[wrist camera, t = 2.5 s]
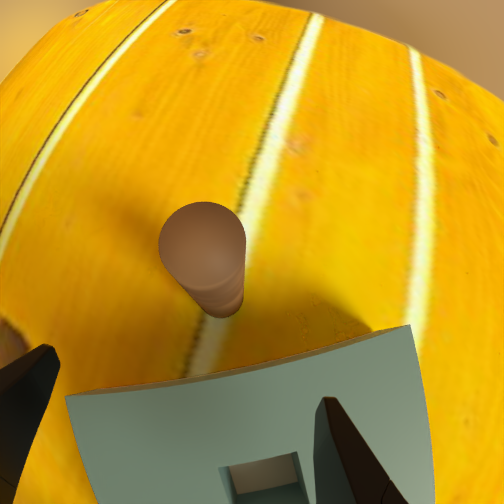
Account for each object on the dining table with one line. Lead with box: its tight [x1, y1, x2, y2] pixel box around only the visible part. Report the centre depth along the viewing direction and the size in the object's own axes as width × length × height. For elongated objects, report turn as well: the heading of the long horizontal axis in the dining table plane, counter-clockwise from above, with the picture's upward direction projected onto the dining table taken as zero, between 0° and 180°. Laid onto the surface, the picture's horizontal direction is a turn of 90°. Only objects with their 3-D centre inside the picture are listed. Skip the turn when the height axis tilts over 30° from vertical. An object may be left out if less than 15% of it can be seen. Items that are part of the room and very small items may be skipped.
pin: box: [159, 202, 246, 318], centre depth 16 cm, size 3×3×11 cm
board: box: [65, 325, 435, 504], centre depth 15 cm, size 20×14×5 cm
